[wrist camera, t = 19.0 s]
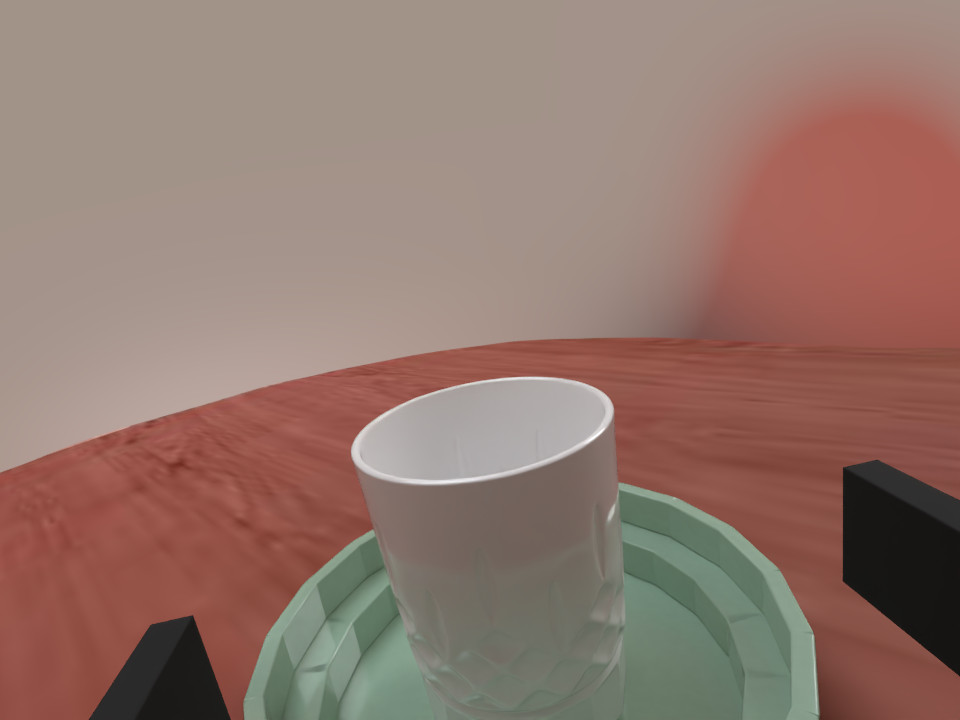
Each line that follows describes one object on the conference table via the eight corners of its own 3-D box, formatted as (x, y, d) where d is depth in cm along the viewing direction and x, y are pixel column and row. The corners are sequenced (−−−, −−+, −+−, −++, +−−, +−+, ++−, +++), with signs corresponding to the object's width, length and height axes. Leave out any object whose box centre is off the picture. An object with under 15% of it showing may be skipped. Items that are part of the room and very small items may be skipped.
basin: (654, 519, 28) (648, 449, 27) (1011, 933, 12) (1027, 793, 11) (323, 596, 27) (303, 525, 26) (189, 1197, 10) (116, 1063, 9)
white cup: (381, 676, 20) (316, 431, 18) (543, 577, 24) (509, 364, 22) (501, 868, 14) (426, 521, 11) (697, 689, 18) (673, 402, 15)
